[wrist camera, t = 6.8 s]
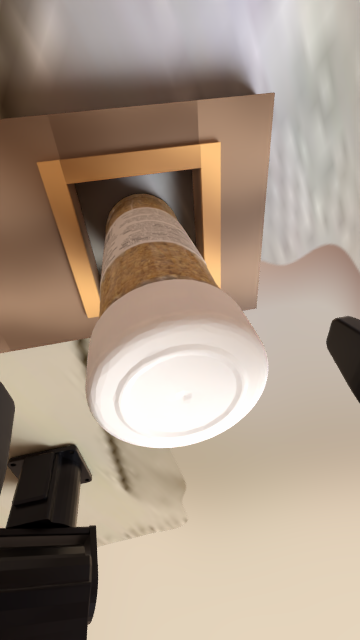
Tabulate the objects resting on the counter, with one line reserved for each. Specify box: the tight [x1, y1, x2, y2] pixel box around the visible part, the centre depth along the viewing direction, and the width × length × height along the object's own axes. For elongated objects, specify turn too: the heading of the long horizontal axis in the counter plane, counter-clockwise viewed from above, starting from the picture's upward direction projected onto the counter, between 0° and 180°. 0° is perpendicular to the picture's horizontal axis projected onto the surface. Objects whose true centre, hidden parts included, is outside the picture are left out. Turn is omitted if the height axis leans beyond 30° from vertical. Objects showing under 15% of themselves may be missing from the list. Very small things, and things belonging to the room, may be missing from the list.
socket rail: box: [0, 93, 275, 353], centre depth 16 cm, size 12×26×2 cm, turn 95°
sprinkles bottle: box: [86, 194, 268, 448], centre depth 12 cm, size 5×5×13 cm
